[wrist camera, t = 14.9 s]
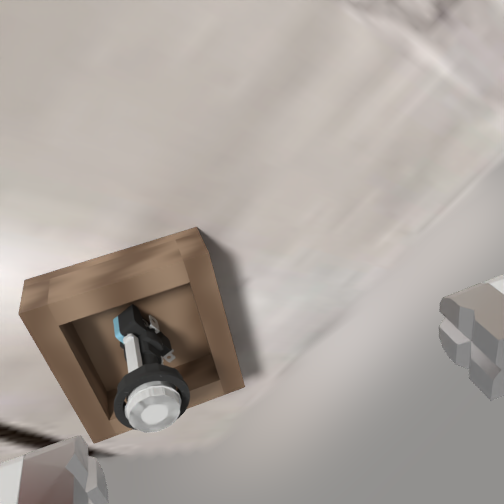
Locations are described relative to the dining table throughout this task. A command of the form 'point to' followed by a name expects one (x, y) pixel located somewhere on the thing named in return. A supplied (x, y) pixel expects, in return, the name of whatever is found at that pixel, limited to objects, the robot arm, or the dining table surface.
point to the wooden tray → (149, 303)
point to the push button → (147, 376)
